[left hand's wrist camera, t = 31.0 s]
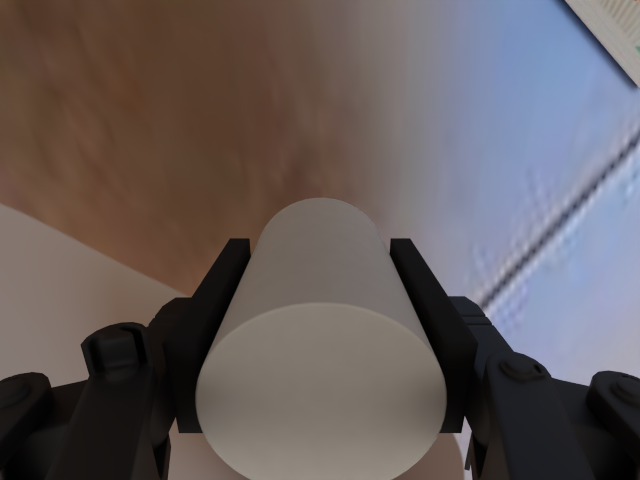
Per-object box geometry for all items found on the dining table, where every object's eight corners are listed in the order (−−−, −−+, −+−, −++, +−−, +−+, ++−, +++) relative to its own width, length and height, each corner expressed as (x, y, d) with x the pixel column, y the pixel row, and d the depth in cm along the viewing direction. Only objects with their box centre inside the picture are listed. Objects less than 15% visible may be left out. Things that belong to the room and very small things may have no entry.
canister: (240, 212, 15) (156, 330, 7) (374, 184, 14) (436, 279, 7) (274, 323, 17) (236, 511, 9) (392, 302, 16) (456, 480, 9)
